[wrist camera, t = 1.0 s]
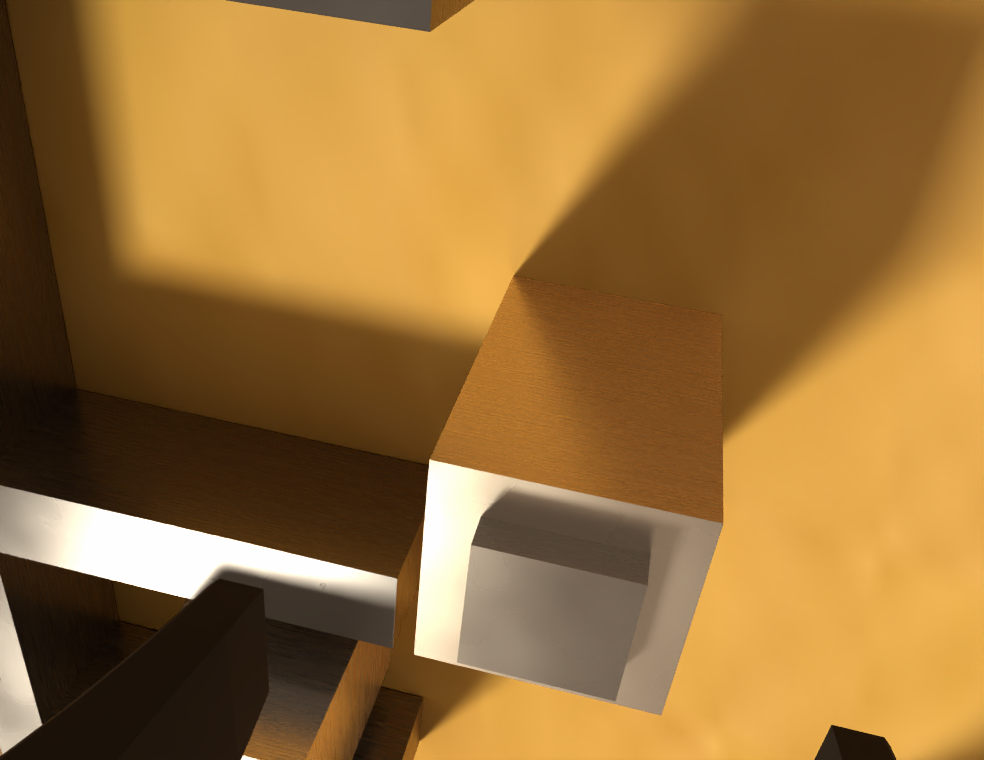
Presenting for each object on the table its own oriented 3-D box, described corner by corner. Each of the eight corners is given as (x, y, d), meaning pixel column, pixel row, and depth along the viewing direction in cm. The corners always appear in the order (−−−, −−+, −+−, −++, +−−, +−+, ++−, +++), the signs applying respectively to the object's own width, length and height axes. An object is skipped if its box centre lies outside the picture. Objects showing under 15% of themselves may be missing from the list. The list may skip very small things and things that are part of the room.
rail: (418, 742, 25) (380, 861, 22) (81, 655, 27) (3, 757, 24) (500, -152, 13) (441, -145, 11) (-118, -231, 15) (-323, -244, 12)
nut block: (676, 479, 19) (659, 748, 13) (492, 441, 19) (402, 684, 14) (721, 314, 17) (723, 555, 11) (513, 275, 17) (416, 486, 12)
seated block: (389, 662, 24) (303, 882, 19) (250, 628, 24) (130, 833, 19) (396, 554, 22) (300, 771, 17) (242, 518, 22) (105, 718, 17)
